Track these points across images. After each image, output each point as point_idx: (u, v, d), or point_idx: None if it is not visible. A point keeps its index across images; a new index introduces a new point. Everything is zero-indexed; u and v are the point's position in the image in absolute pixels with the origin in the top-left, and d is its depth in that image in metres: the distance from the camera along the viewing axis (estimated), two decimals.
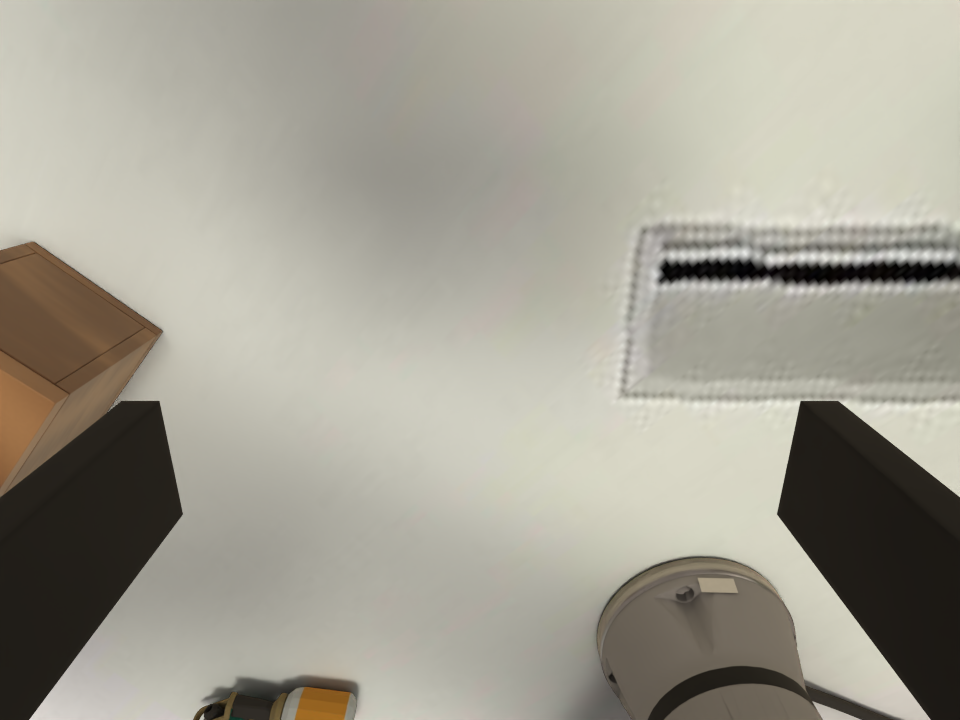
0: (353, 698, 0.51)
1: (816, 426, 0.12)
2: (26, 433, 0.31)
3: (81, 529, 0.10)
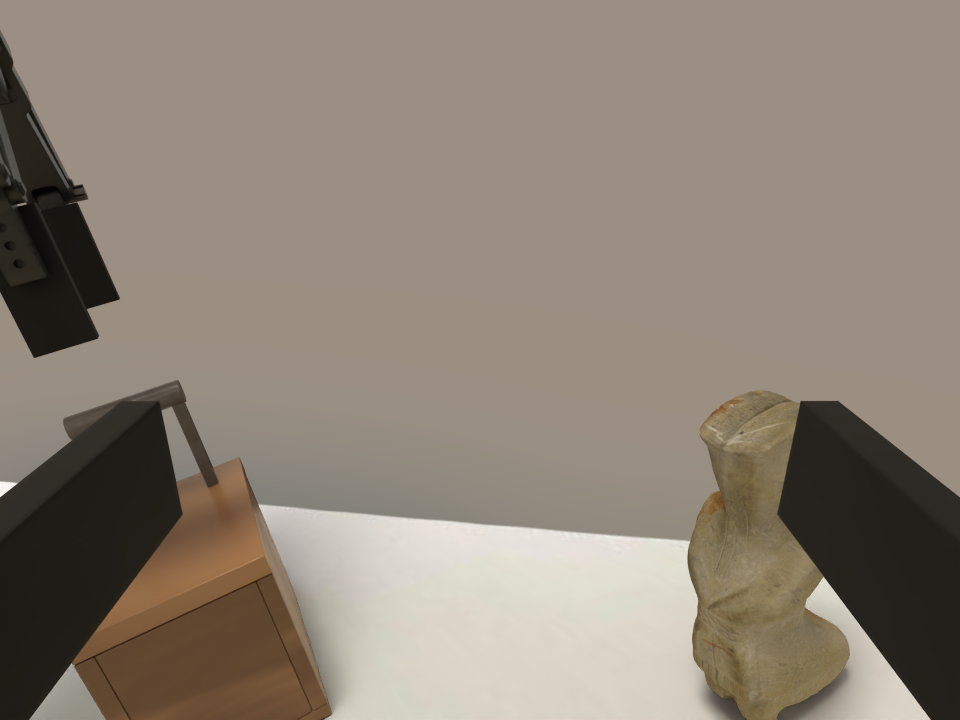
0: None
1: (816, 426, 0.12)
2: None
3: (81, 529, 0.10)
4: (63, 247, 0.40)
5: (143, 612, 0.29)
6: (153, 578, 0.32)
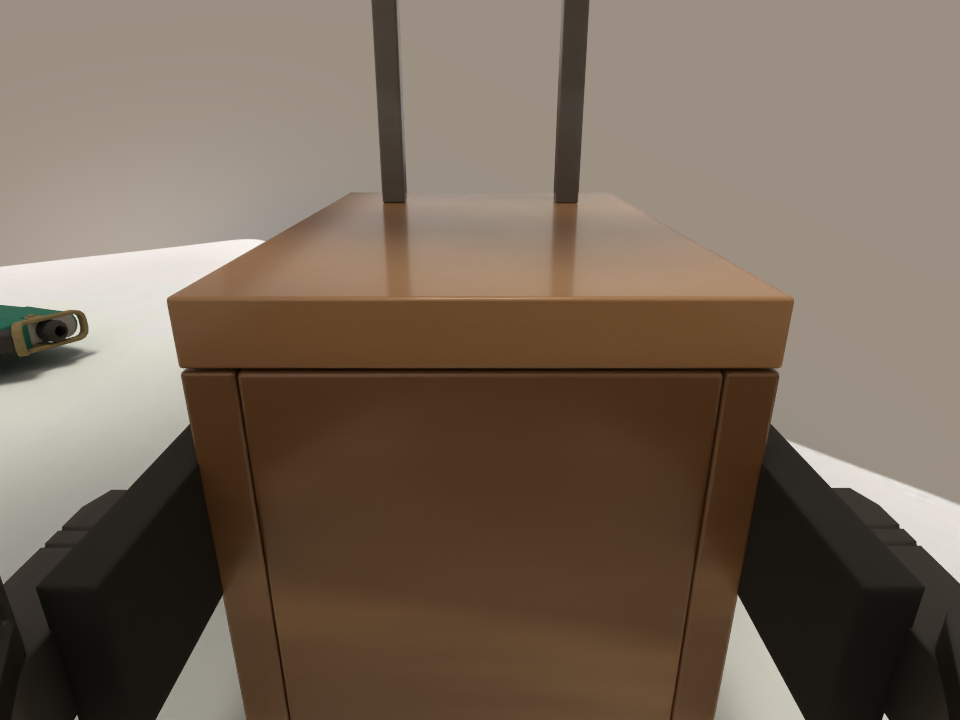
0: None
1: None
2: (249, 261, 0.11)
3: None
4: None
5: (399, 304, 0.09)
6: (440, 260, 0.11)
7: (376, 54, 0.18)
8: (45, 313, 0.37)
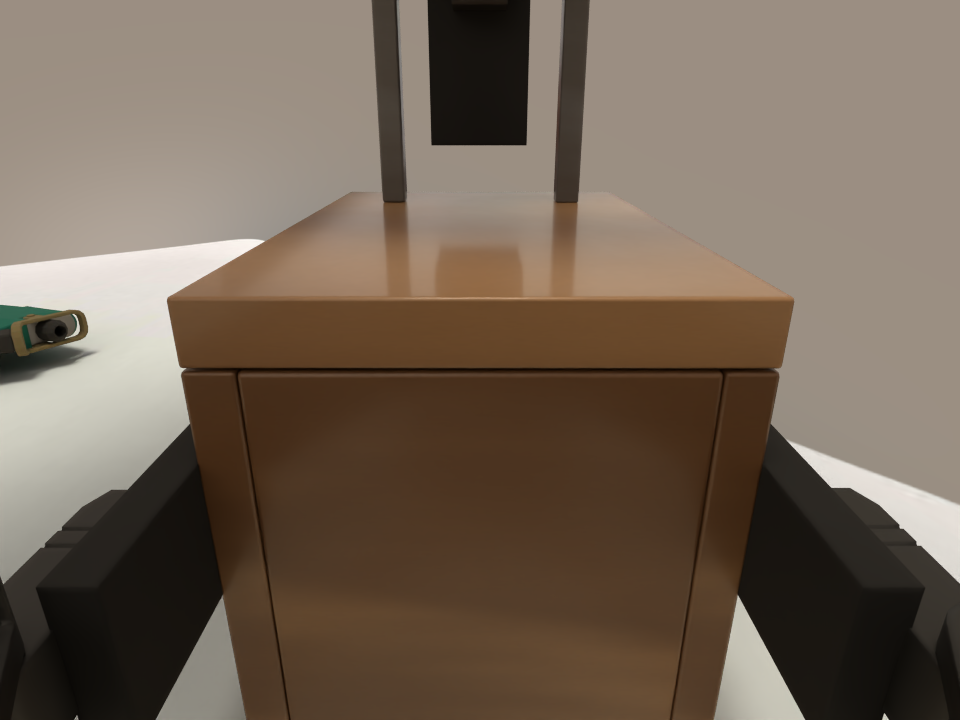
0: None
1: None
2: (249, 261, 0.11)
3: None
4: None
5: (399, 304, 0.09)
6: (440, 260, 0.11)
7: (376, 53, 0.18)
8: (45, 313, 0.37)
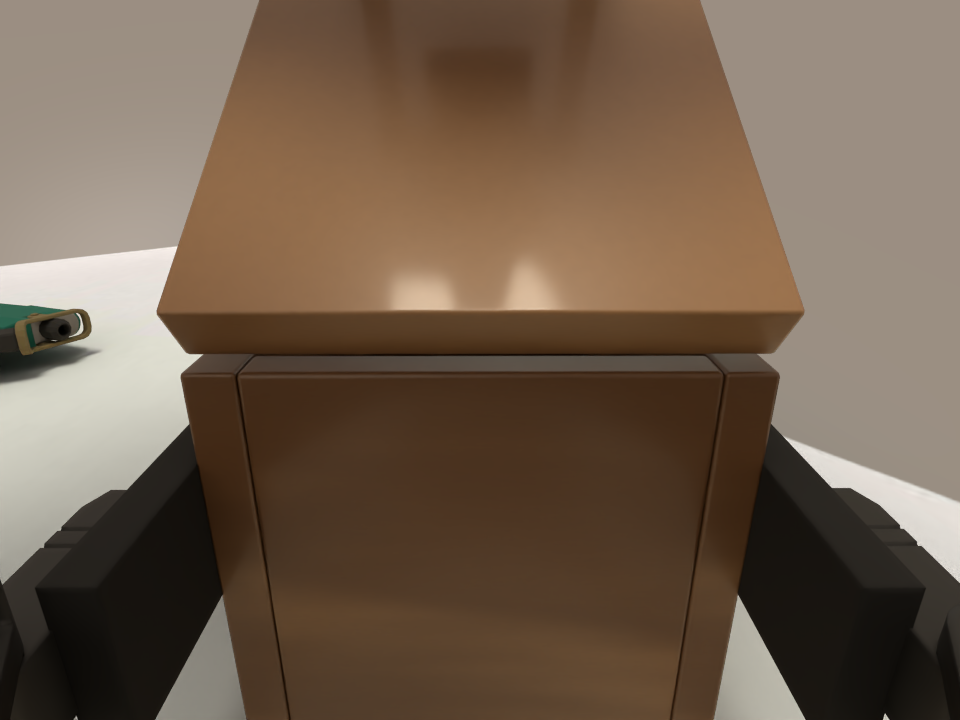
0: None
1: None
2: (218, 188, 0.10)
3: None
4: None
5: (397, 316, 0.09)
6: (434, 187, 0.10)
7: None
8: (48, 312, 0.37)
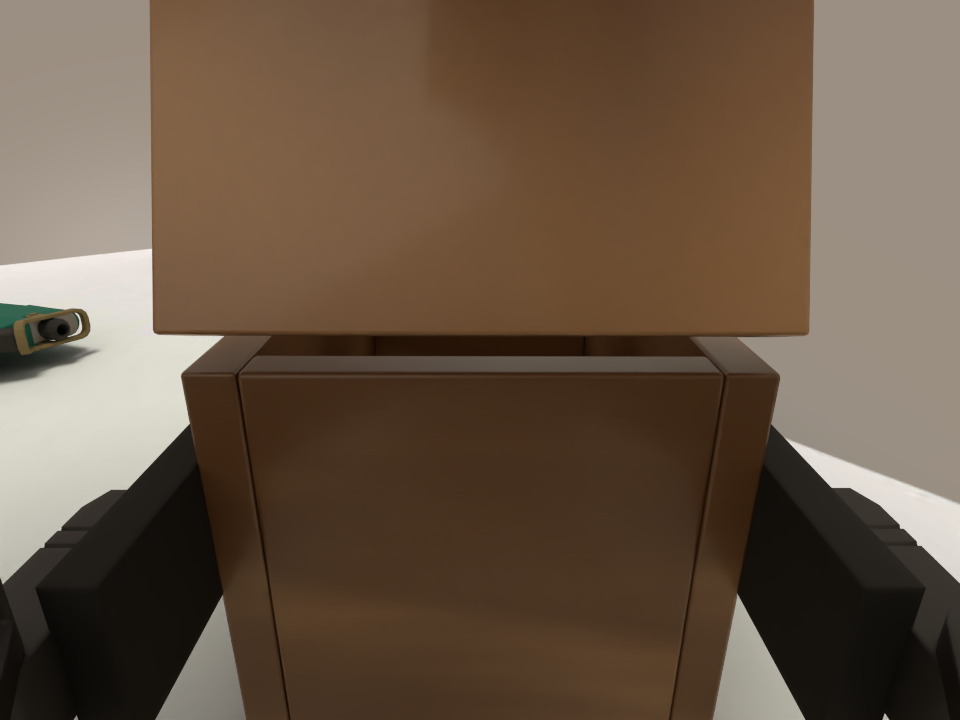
0: None
1: None
2: (176, 155, 0.09)
3: None
4: None
5: (397, 333, 0.09)
6: (428, 153, 0.09)
7: None
8: (47, 311, 0.37)
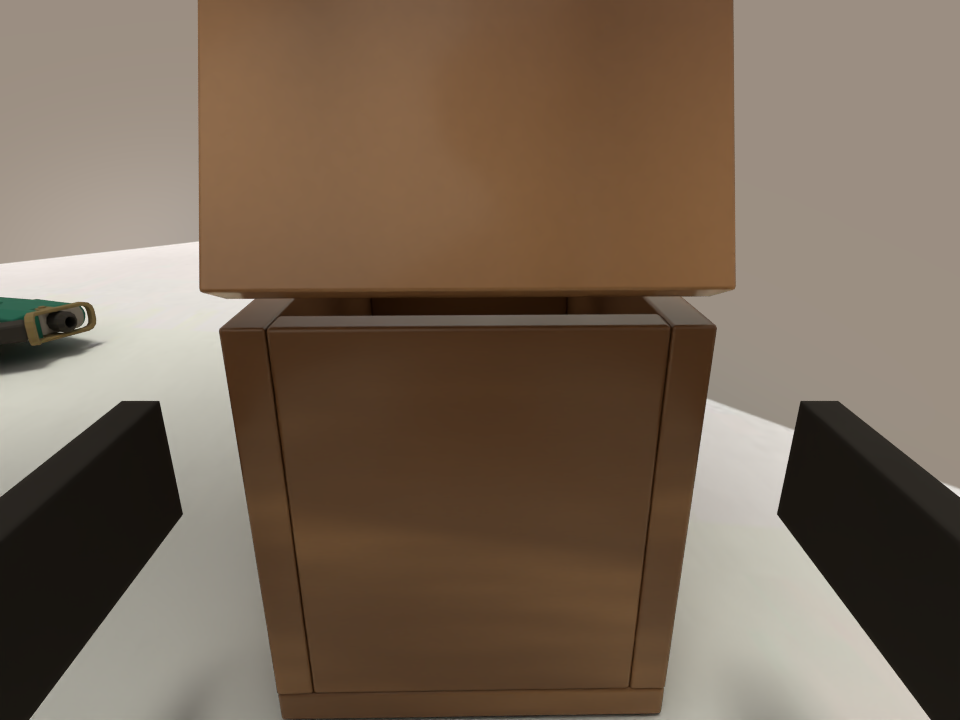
0: None
1: (816, 426, 0.12)
2: (219, 146, 0.11)
3: (81, 529, 0.10)
4: None
5: (400, 290, 0.11)
6: (425, 144, 0.11)
7: None
8: (55, 305, 0.39)
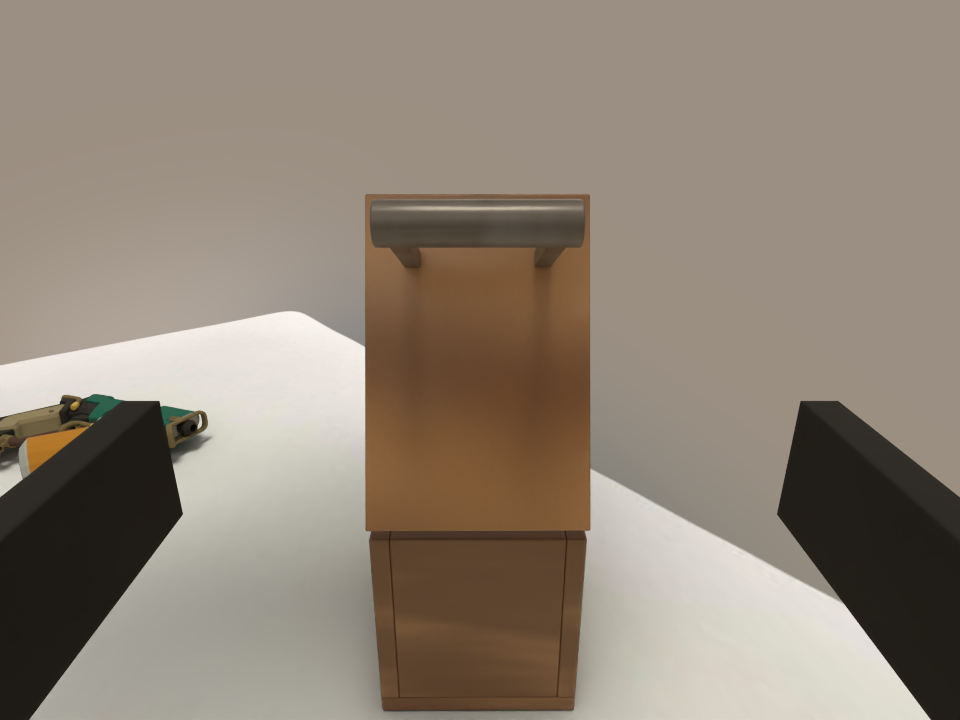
0: None
1: (816, 426, 0.12)
2: (374, 470, 0.26)
3: (81, 529, 0.10)
4: None
5: (449, 530, 0.26)
6: (459, 470, 0.26)
7: (391, 249, 0.21)
8: (180, 414, 0.54)
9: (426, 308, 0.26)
